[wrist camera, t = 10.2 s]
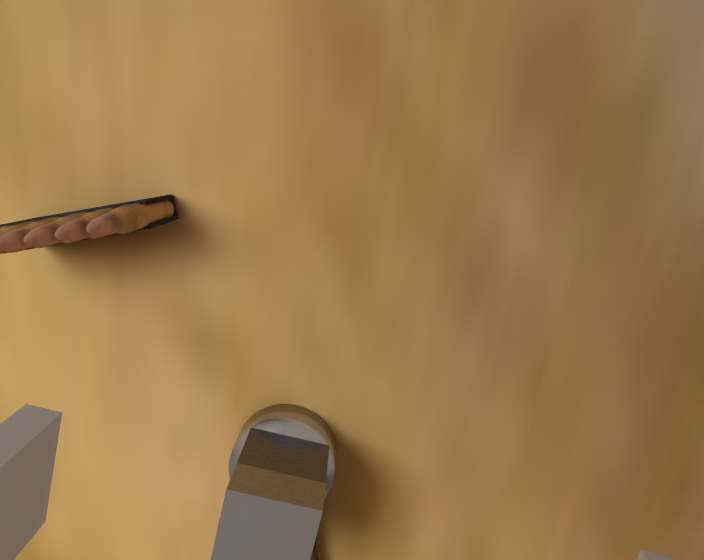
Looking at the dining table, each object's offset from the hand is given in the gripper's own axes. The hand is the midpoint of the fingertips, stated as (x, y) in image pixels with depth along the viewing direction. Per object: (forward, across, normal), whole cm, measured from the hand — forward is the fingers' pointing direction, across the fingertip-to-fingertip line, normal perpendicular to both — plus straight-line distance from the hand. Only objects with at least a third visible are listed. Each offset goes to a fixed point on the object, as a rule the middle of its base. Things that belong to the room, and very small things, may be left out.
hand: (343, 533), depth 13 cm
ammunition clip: (+31, -18, -2) cm, 36 cm away
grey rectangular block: (+28, -1, -16) cm, 32 cm away
